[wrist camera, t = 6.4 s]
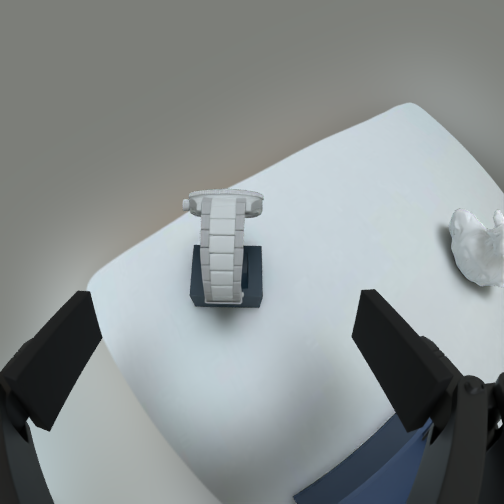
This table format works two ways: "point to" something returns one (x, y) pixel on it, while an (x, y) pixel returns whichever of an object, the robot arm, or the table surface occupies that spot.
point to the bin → (373, 470)
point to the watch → (225, 249)
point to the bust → (478, 248)
